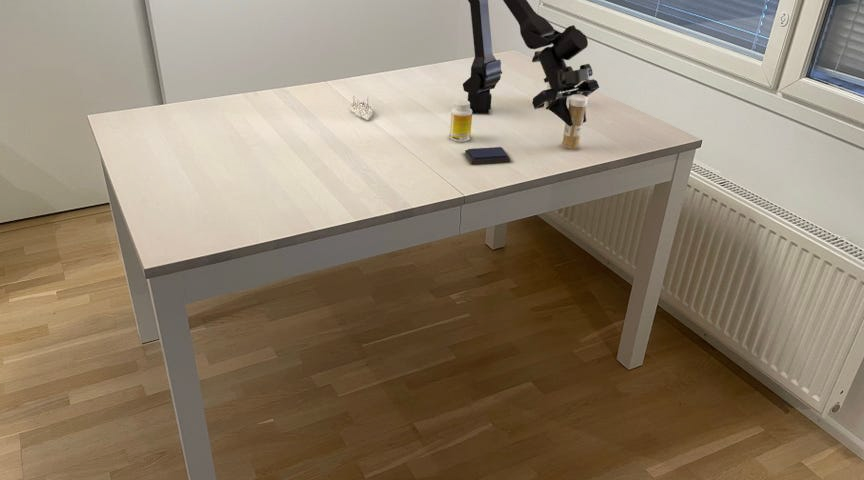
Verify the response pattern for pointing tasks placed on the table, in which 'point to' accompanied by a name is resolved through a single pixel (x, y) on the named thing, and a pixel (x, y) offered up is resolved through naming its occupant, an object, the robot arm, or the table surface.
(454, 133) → the supplement bottle
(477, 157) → the ink pad
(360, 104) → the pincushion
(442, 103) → the table surface
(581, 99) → the sprinkles bottle
